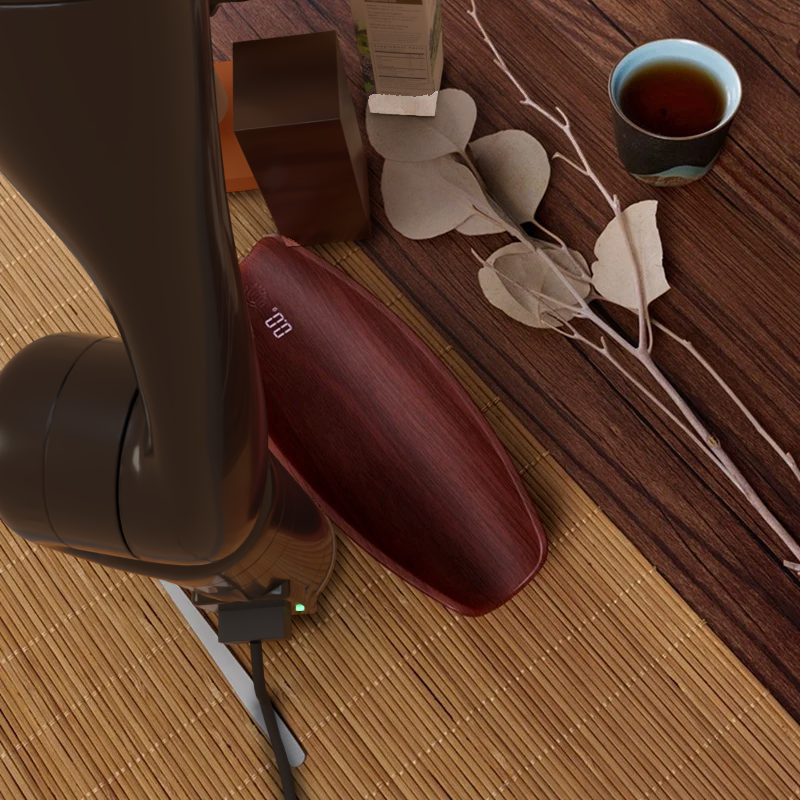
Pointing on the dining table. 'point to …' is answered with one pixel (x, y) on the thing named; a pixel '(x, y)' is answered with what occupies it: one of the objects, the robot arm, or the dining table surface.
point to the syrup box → (399, 45)
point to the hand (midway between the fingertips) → (136, 37)
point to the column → (302, 136)
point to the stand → (232, 139)
